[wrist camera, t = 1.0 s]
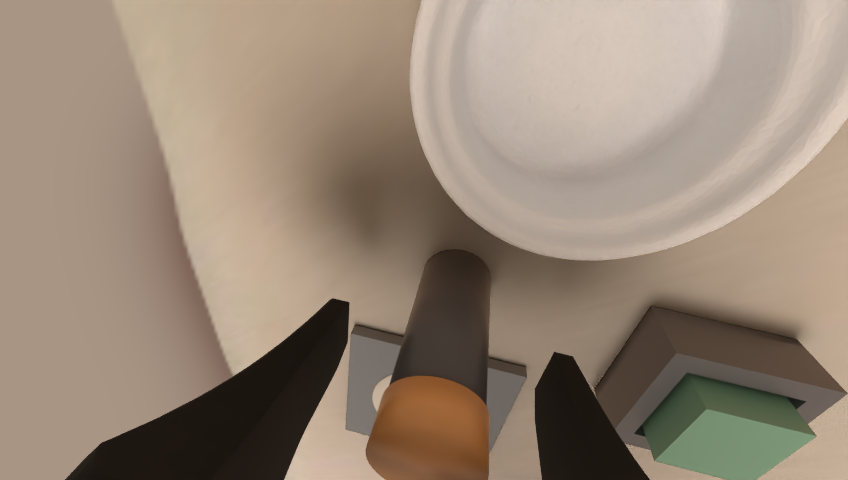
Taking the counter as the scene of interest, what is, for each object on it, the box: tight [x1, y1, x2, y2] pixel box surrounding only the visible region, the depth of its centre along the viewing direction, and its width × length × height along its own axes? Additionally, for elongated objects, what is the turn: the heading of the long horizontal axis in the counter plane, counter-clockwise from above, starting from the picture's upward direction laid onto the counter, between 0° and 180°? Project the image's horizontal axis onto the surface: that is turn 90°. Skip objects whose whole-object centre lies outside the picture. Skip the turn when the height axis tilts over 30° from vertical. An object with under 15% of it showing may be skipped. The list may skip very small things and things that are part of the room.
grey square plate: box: [346, 325, 527, 453], centre depth 20 cm, size 9×9×1 cm
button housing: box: [595, 306, 848, 450], centre depth 15 cm, size 6×6×2 cm
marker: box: [366, 250, 491, 480], centre depth 13 cm, size 3×3×8 cm
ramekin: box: [410, 0, 848, 261], centre depth 9 cm, size 9×9×4 cm
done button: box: [642, 373, 816, 480], centre depth 14 cm, size 4×4×2 cm
